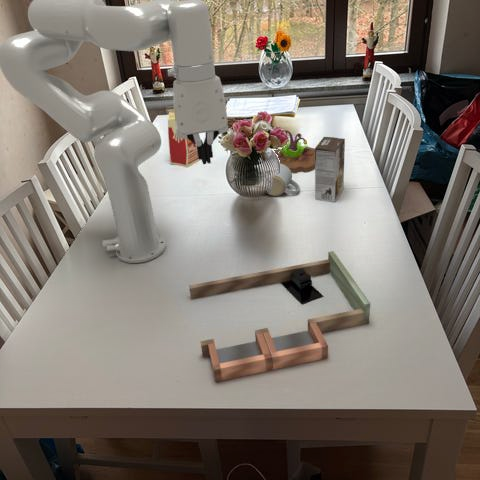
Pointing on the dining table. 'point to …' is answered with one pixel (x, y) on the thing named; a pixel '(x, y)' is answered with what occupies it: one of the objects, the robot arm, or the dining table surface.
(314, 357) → the track
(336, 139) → the coffee box
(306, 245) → the dining table surface
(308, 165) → the plant
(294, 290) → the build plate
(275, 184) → the ceramic mug
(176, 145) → the milk carton
